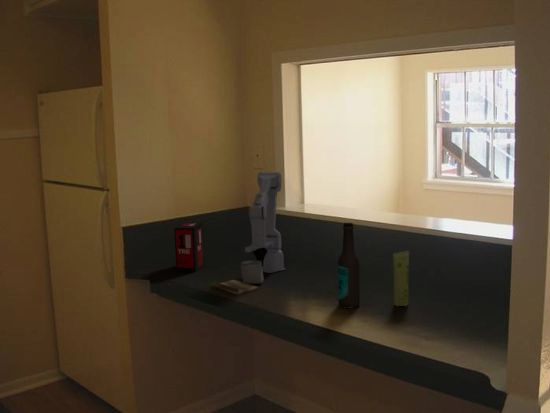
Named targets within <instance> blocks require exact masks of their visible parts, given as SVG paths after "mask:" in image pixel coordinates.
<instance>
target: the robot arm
mask: <svg viewBox="0 0 550 413" xmlns="http://www.w3.org/2000/svg"><path fill="white" fill-rule="evenodd" d="M256 178H257V185H258V186H259V190H258V191H259V192H257V193H256V194H255V197H254V199H253V203H252V205H251V206H250V207H249V208H248V217H249V221H250V222H249V223H250V224H251V244H250V245H248V246H245V247H244V252H245V253H251V252H252V254H253V255H254V256H255V260H256V261H261V263H262V271H263V273H268V274H272V273H276V272H280V271H285V270H286V268H285V264H284V263H285V262H284V260H285V256H284V253H283V251H282V250H281V249H282V242H283V241H282V234H281V233H280V232H279V230H278V229H276V218H277V214H276V213H277V197H278V196H277V195H278V193H279V192H280V191H282V190H281V189H282V173H281V172H280V171H276V172H275V171H270V172H269V171H267V172H266V171H265V172H264V171H259V172H258V173H257V176H256Z"/></svg>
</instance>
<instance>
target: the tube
mask: <svg viewBox="0 0 550 413" xmlns="http://www.w3.org/2000/svg"><path fill="white" fill-rule="evenodd" d="M392 261H393V262H392V263H393V297H394V298H393V299H394V301H393V305H394V306H395V305H396V306H395V307H398V306H405V307H408V306H407V305H409V277H410V276H409V274H410V272H409V270H410V268H409V266H410V250H404V251H399V252H394V253H392Z"/></svg>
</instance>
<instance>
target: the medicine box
mask: <svg viewBox="0 0 550 413" xmlns="http://www.w3.org/2000/svg"><path fill="white" fill-rule="evenodd" d="M240 270H241V277H242V282H243V283H247V284H250V285H254V284H255V285H256V284H262V283H263V282H264V280H265V279H264V272H263V271H262V263H261V261H257V260H244V261H242V263H241V264H240Z"/></svg>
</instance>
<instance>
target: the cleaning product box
mask: <svg viewBox="0 0 550 413" xmlns="http://www.w3.org/2000/svg"><path fill="white" fill-rule="evenodd" d="M173 230H174V248H175V249H174V250H175V268H176V270H175V271H176V273H196V272H197V271H198V270H200V269H201V268H202V267H203V266H204V264H206V261H205V260H206V259H205V240H204V239H205V238H204V237H205V236H204V222H203V221H184V222H182V223H180V224H178V226H176V227H174V228H173Z"/></svg>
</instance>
